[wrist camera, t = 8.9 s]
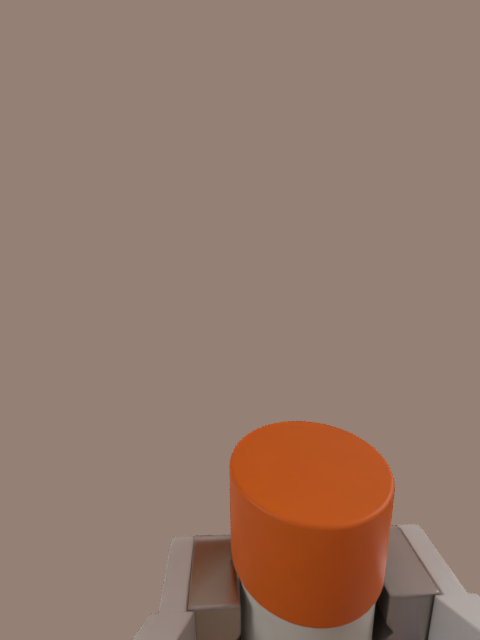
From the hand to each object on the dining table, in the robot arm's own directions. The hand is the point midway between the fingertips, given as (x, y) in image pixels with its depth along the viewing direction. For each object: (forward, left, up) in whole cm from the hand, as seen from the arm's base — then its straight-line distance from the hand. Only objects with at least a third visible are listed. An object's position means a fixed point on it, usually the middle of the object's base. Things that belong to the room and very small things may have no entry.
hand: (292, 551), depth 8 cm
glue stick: (+1, -1, -12) cm, 12 cm away
